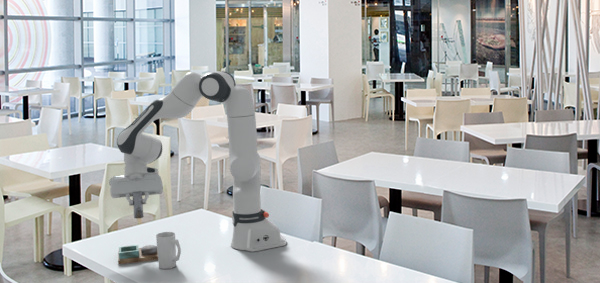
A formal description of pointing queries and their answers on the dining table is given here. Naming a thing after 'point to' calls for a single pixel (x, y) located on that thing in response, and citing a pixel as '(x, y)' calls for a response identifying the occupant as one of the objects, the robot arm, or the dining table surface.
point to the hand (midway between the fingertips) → (137, 204)
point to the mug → (167, 250)
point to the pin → (138, 204)
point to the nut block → (137, 254)
